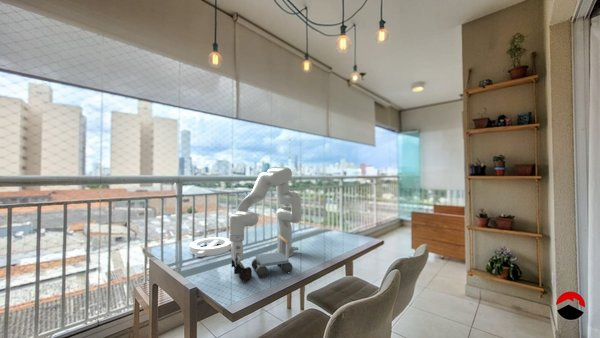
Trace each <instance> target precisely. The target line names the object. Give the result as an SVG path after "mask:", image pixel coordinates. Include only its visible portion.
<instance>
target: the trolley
mask: <svg viewBox="0 0 600 338" xmlns="http://www.w3.org/2000/svg"><path fill="white" fill-rule="evenodd" d="M281 239H282V240H283V241H284V242H285V243H286V257H285V256H284V255H283V254H282V253H281ZM275 252H276V251H275ZM275 252H270V253H263V254H256V255H255V258H253V259H252V260H251V268H253V269H252V270H255V274H256V276H257V277H258V278H259V279H264V278H266V277H267V276H268V273H269V269H268V267H271V266H278V267H280V270H281V271H282V273H284V274H285V273H288V272H290V273H291V272H292V270H293V264H292V263H291V261H290V260H289V257H290V256H289V242H288V241H287V240H286V239H284V238H283V237H282V236H281V235H279V252H276V253H275ZM288 274H289V273H288Z"/></svg>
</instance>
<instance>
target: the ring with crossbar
mask: <svg viewBox="0 0 600 338" xmlns="http://www.w3.org/2000/svg"><path fill="white" fill-rule="evenodd" d="M202 243H210V244H209V245H207V246H203V247H200V246H198V245H200V244H202ZM217 244H221V245H217ZM230 250H231V241H229V237H223V236H222V237H221V236H220V237H219V236H216V237H215V236H212V237H205V238H199V239H195V240H194V241H192V242H190V243H189V252H190V251H191V252H192V253H193V254H196V255H195V256H196V258H198V257H199V258H202V257H208V256H209V257H211V256H217V255H222V254H225V253H228V252H230ZM193 254H192V255H193Z"/></svg>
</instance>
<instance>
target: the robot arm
mask: <svg viewBox="0 0 600 338" xmlns="http://www.w3.org/2000/svg"><path fill="white" fill-rule="evenodd" d="M292 177H293V172H292V170H291V169H290V168H289V167H285V166H284V167H283V166H282V167H281V166H280V167H278V166H275V167H274V166H273V167H269V168H268V169H267V171H262V172H260V173H259V174H258V176H257V179H256V180H255V183H254V185H253V188H252V190H251V192H250V193H249V194H248V195H247V196H245V197H244V198H243V200H241V201H240V203H239V204H238V206H237V207H236V210H235V213H232V214H230V215H229V237H228V239H229V241H231V251H230V252H231V253H230V254H231V268H234V269H233V273H234V275H239V274H240V273H241V263H242V262H241V261H243V260H244V247H243V246H244V245H243V244H244V243H243V242H244V241H245V228H246V227H253V226H256V225H257V223H258V222H259V216H258V214H257V213H256V212H253V211H248V210H249V208H251V206H252V205H255V204H256V203H259V202H261V201H263V200H264V199H265V197H266V196H267V193H268V191H269V188H270V187H276V199H277V203H278V205H280V206H281V207H279V208H278V209H277V210H276V221H277V249H276V251H274V253H276V252H279V235H281V236H282V237H283V238H284V239H286V240H287V241H288V242H289V257H292V256H293V255H294V254H295V251H299V247H295V246H293V245H292V243H293V241H292V240H293V238H292V235H293V232H292V231H293V228H292V224H291V223H293V224H298V223H300V221H301V220H302V203H301V202H302V200H301V196H300V194H299V193H297V192H295V191H291V190H290V184H289V181H290V180H291V179H292ZM281 253H282V254H283V255H284V256H285V257H286V243H285V242H284V241H283V240H282V239H281Z"/></svg>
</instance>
